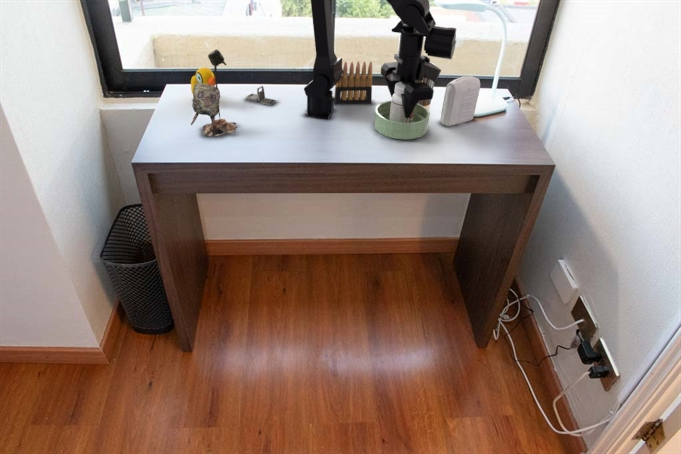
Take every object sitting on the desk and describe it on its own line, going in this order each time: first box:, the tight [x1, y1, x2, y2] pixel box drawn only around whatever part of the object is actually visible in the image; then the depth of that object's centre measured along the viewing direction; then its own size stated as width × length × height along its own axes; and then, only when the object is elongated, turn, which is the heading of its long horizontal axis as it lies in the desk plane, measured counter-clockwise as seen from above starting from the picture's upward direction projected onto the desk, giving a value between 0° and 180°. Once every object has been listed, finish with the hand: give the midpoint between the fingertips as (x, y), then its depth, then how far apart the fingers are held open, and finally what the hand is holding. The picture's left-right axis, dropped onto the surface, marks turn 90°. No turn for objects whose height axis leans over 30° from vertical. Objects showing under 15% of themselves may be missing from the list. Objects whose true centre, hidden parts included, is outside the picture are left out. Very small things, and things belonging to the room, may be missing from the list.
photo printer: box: [439, 75, 481, 127], centre depth 136 cm, size 10×4×12 cm, turn 123°
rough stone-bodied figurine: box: [190, 49, 238, 137], centre depth 123 cm, size 8×11×20 cm
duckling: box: [190, 67, 216, 95], centre depth 139 cm, size 11×5×10 cm, turn 44°
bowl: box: [373, 100, 431, 140], centre depth 133 cm, size 14×14×5 cm
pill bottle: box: [389, 82, 414, 123], centre depth 130 cm, size 6×6×11 cm
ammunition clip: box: [333, 60, 373, 105], centre depth 143 cm, size 11×2×12 cm, turn 97°
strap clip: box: [246, 85, 277, 106], centre depth 143 cm, size 8×3×4 cm, turn 66°
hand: (402, 112), depth 131 cm, fingers closed on pill bottle, 6 cm apart
